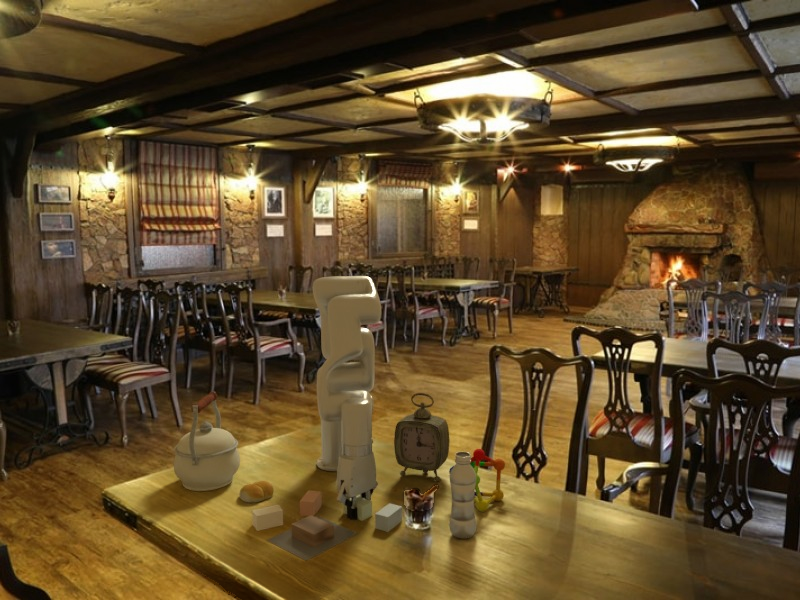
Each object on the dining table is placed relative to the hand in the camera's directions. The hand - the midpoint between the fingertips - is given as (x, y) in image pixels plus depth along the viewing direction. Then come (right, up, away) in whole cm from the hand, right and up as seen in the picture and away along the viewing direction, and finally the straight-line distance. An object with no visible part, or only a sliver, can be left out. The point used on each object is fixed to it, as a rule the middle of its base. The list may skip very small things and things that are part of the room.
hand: (358, 518), depth 160 cm
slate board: (-10, -2, -11) cm, 15 cm away
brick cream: (-22, -1, -5) cm, 22 cm away
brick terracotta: (-12, 0, +3) cm, 13 cm away
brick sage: (0, 0, 0) cm, 0 cm away
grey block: (+8, -1, -5) cm, 10 cm away
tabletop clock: (+17, +3, +27) cm, 32 cm away
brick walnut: (-10, 0, -11) cm, 15 cm away
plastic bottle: (+25, -1, -9) cm, 27 cm away
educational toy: (+31, +1, +9) cm, 32 cm away
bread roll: (-29, +1, +14) cm, 32 cm away
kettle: (-45, +2, +26) cm, 52 cm away
